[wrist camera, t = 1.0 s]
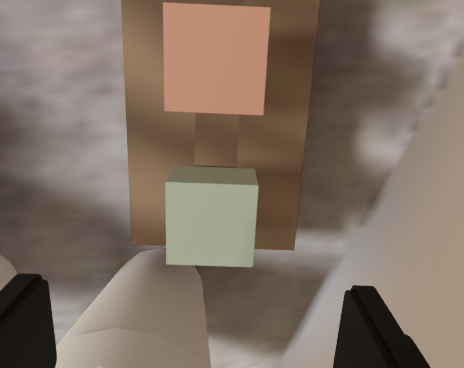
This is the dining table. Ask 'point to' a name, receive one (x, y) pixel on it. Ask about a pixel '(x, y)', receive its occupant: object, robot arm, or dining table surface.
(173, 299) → the foam cup
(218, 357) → the dining table surface
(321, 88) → the dining table surface
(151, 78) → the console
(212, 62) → the terracotta key
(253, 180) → the sage key
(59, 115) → the dining table surface
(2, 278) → the mug
